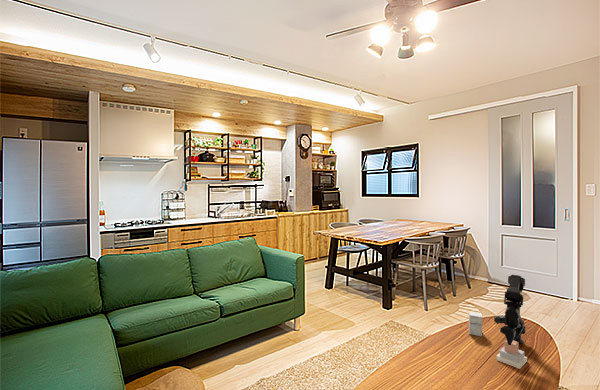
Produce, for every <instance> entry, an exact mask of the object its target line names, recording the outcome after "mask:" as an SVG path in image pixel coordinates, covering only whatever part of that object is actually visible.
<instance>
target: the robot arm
mask: <svg viewBox="0 0 600 390" xmlns="http://www.w3.org/2000/svg"><path fill="white" fill-rule="evenodd" d="M507 283H508V285H509V287H508V288H506V290H505V292H504V298H503V299H504V300H503V301H504V302H503V305H506V309H505V312H504V315H497V316H495V317H494V318H493V322H495V325H496V324H497V325H499V324H504V325H502V326H501V327H500V328H499V329H500V330H499V331H500V333H501V334H502V335H504V337H505V339H506V340H507V343H508V345H511V343H512V341H513V340H514V341H517V342H519V345H521V344H523V342H524V339H522V335H526V325H525V321H524V320H523V317H521V308H522V306H523V305H524V296H523V294H521V293H522V292H523V291H524V287H526V279H525V278H524V277H522V276H521V275H517V274H510V275H508V276H507Z"/></svg>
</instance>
